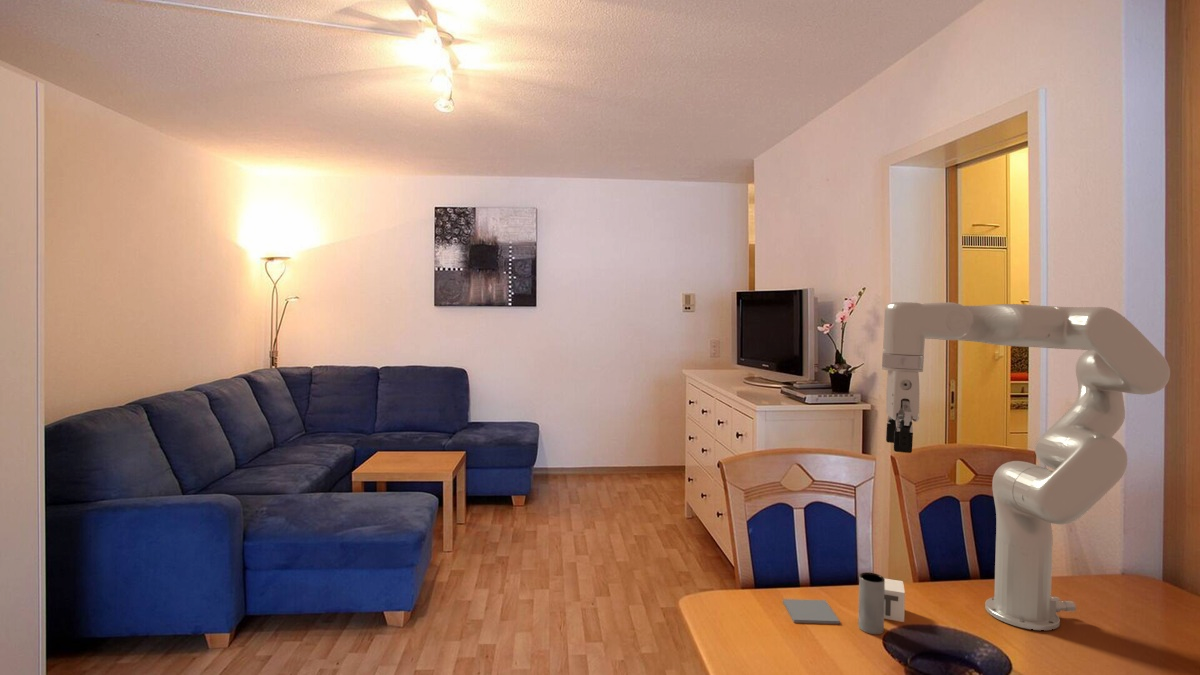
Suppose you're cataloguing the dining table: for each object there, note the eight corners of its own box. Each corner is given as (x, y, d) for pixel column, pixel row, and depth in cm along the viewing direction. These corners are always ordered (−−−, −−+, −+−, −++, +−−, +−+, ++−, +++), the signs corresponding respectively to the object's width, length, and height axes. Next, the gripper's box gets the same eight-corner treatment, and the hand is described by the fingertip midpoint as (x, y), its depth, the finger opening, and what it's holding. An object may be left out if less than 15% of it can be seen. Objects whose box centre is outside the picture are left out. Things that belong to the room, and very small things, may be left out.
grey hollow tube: (878, 623, 123) (879, 572, 122) (887, 635, 118) (888, 582, 118) (855, 622, 123) (856, 571, 123) (862, 634, 119) (863, 581, 118)
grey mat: (825, 602, 131) (825, 600, 131) (839, 624, 122) (839, 621, 122) (782, 601, 132) (782, 599, 132) (793, 622, 123) (794, 619, 123)
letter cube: (870, 604, 131) (871, 576, 131) (902, 609, 129) (902, 581, 129) (871, 617, 125) (872, 588, 125) (904, 623, 123) (905, 593, 123)
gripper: (932, 367, 115) (928, 458, 116) (914, 361, 132) (910, 441, 132) (888, 365, 117) (884, 454, 118) (876, 359, 134) (872, 438, 134)
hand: (898, 447), depth 125 cm, fingers open, 9 cm apart
